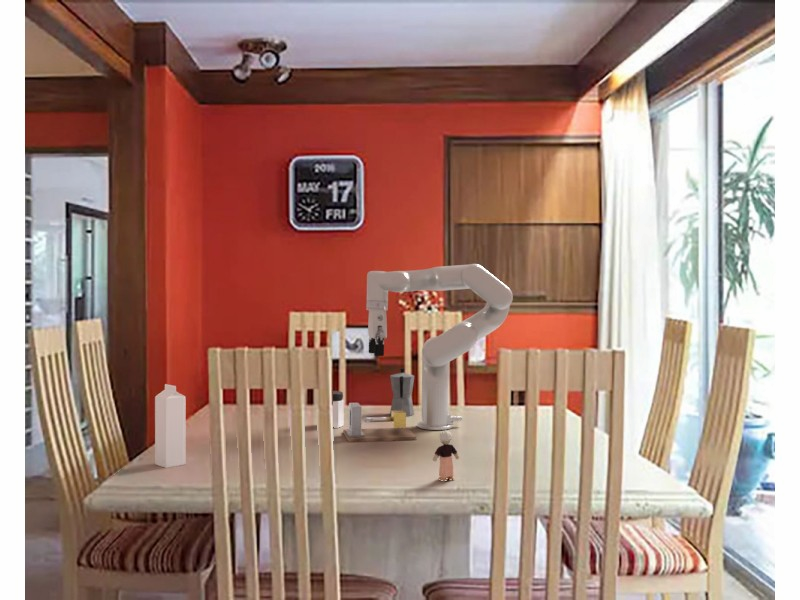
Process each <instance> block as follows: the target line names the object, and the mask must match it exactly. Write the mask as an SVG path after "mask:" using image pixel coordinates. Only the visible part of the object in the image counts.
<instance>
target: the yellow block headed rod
mask: <svg viewBox="0 0 800 600" xmlns="http://www.w3.org/2000/svg"><path fill="white" fill-rule="evenodd" d="M390 411H391V410H390ZM390 415H391V416H373V417H370V416H369V417H367V416H366V417H364V418H363V419H362V421H363V422H364V423H389V422H390V424H391V426H392V428H407V427H406V426H407V416H406V412H404V411H403V410H398V411H391V414H390Z"/></svg>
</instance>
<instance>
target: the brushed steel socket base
mask: <svg viewBox="0 0 800 600" xmlns="http://www.w3.org/2000/svg"><path fill="white" fill-rule="evenodd" d="M361 429H362V406H361V405H360V403H359V402H349V403H348V428H346V429H345V430H346V433H347V434H348V436H349V437H365V435H364V433H363V432H362V430H361Z"/></svg>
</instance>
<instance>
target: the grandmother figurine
mask: <svg viewBox="0 0 800 600" xmlns="http://www.w3.org/2000/svg"><path fill="white" fill-rule="evenodd" d="M438 436H439V441H440V443H441V445H440V446H438V447H437V448H436V450H435V452H434V455H433V457H432V461H433V462H436V461H438V458H439V469H438V476H439V477H438V479H440V480H443V481H445V480H448V479H454V480H455V477H454V462H453V456H454V458H455V459H456V460H459V458H460V456H459V454H458V451H457V449H456V448H455V446H454V445H453V444H450V443H451V441H452V440H453V439H452V438H453V436H452V433H451V432H450V431H449V430H443V431H441V432H440V433H439V435H438ZM452 455H453V456H452ZM446 478H448V479H446Z"/></svg>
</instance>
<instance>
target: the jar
mask: <svg viewBox="0 0 800 600" xmlns="http://www.w3.org/2000/svg"><path fill="white" fill-rule="evenodd" d="M332 391H333V423H334V428H333V429H339V427H340V428H342V427H343V426H344V425H345V411H344V410H345V400H344V395H343V394H344V392H343V391H339V390H332Z"/></svg>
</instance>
